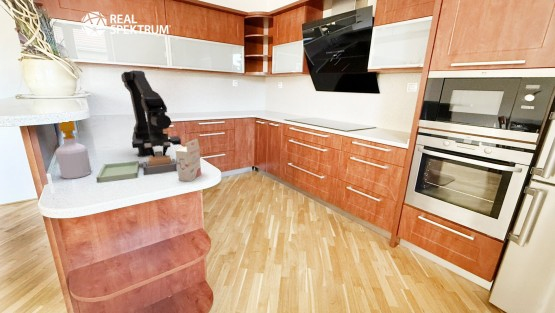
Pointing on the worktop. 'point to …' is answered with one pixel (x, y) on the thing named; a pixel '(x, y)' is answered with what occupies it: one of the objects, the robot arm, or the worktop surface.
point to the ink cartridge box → (188, 161)
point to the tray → (118, 171)
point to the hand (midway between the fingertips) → (159, 160)
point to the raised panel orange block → (159, 159)
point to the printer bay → (159, 168)
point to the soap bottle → (72, 154)
